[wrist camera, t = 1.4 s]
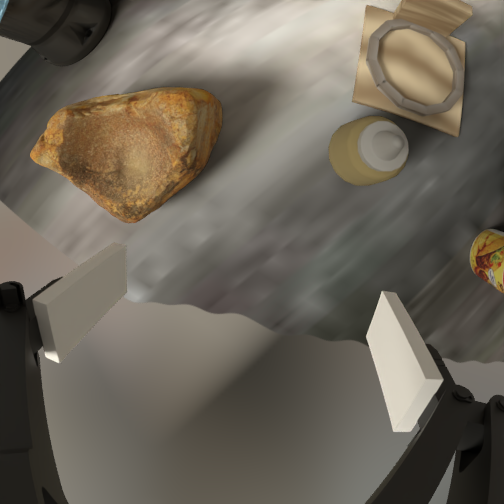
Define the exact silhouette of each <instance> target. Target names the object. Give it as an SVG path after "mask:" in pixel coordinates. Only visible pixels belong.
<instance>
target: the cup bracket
mask: <svg viewBox="0 0 504 504" xmlns="http://www.w3.org/2000/svg"><path fill="white" fill-rule="evenodd" d="M472 15H473V14H472V6H470V5H468V4H466V3H464V2H462V1H460V0H402V1H401V2H400V4H399V6H398V7H397V9H396V10H395V12H394V13H391V12H388V11H385V10H382V9H379V8H375V7H372V6H369V5H367V6H366V10H365V18H364V26H363V34H362V41H361V48H360V55H359V62H358V69H357V75H356V81H355V87H354V93H353V99H352V102H355V103H358V104H362V105H365V106H369V107H372V108H376V109H379V110H382V111H385V112H389V113H392V114H395V115H398V116H401V117H404V118H407V119H410V120H412V121H415V122H418V123H421V124H424V125H426V126H429V127H432V128H434V129H437V130H439V131H442V132H444V133H447V134H449V135H452V136H454V137H458V136H459V129H460V121H461V112H462V101H463V88H464V71H465V42H463V41H461V40H459V39H457V38H454V37H452V36H450V35H449V34H451V33H452V32H453V31H454V30H455V29H456V28H458V27H459V26H460V25H461V24H462V23H464V22H465V21H466V20H467V19H468V18H470V17H471V16H472Z"/></svg>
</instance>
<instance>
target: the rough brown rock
mask: <svg viewBox="0 0 504 504" xmlns="http://www.w3.org/2000/svg"><path fill="white" fill-rule="evenodd" d="M221 126H222V107H221V103H220V102H219V100H217V99H216V98H215V97H214V96H213V95H212V94H211V93H209V92H208V91H206V90H203V89H196V88H182V87H162V88H153V89H148V90H144V91H140V92H133V93H127V94H122V95H119V94H115V95H107V96H101V97H95V98H92V99H88V100H85V101H81V102H78V103H75V104H71V105H68V106H66V107H64V108H62V109H60V110H59V111H57V112H56V113H55V114H54V115H53V116H52V118H51V119H50V120H49V122H48V125H47V129H46V130H45V132H44V133H43V134H42V135H41V136H40V138H39V140H38V141H37V143H36V145H35V146H34V148H33V149H32V151H31V153H30V157H31V158H32V159H33V160H34V161H35V162H36V163H38V164H40V165H41V166H45V167H48V168H49V169H51V170H53V171H55V172H57V173H59V174H61V175H62V176H64V177H66V178H67V179H69V180H70V181H71V182H72V183H73V184H74V185H75V186H76V187H78V188H79V189H81V190H82V191H84V192H85V193H87V194H88V195H89V196H90V197H91V198H92V199H93V200H94V201H95V202H96V203H97V204H98V205H99V206H101V207H103V208H104V209H106V210H107V211H108V212H109V213H110V214H111V215H112V216H114V217H116V218H118V219H119V220H121V221H123V222H125V223H132V222H133V223H135V222H138V221H140V220H141V219H143V218H145V217H146V216H147V215H148V214H150V213H151V212H153V211H155V210H157V209H158V208H160V207H161V206H162V205H163V204H164V203H165V202H166V201H167V200H168V199H169V198H170V197H172V196H173V195H175V194H176V193H177V192H178V191H179V190H181V189H182V188H184V187H185V186H186V185H187V184H188V183H189V182H191V181H192V180H193V179H194V178H195V177H196V176H197V175H198V174H199V173H200V172H201V171H202V170H203V168H204V167H205V165H206V164H207V162H208V160H209V157H210V153H211V151H212V149H213V147H214V145H215V144H216V141H217V139H218V136H219V133H220V130H221Z"/></svg>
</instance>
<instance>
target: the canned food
mask: <svg viewBox="0 0 504 504" xmlns="http://www.w3.org/2000/svg"><path fill="white" fill-rule="evenodd" d="M470 264H471V268H472V270H473V272H474V273H475V274H476V275H477V276H479V277H480V278H482V279H483V280H485V281H486V282H488V283H489V284H491V285H492V286H494V287H495V288H496V289H498V290H499V291H501V292H502V293H504V232H501V231H498V230H496V229H486V230H484V231H482V232H481V233H480V234H479V235H478V236H477V237H476V239H475V240H474V242H473V244H472V247H471V251H470Z"/></svg>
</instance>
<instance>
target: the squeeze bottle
mask: <svg viewBox="0 0 504 504" xmlns="http://www.w3.org/2000/svg"><path fill="white" fill-rule="evenodd" d="M408 152H409V149H408V141H407V138H406V136H405V134H404V132H403V131H402V130H401V129H400V128H399V127H398V126H397V125H396V124H395V123H394V122H393V121H391V120H388V119H386V118H384V117H382V116H367V117H364V118H361V119H357V120H354V121H351V122H349V123H347V124H344V125H342V126H340V128H339V129H338V130H337V131H336V132H335V133H334V134H333V135H332V138H331V141H330V144H329V160H330V162H331V164H332V166H333V168H334V170H335V172H336V173H337V174H338V175H339V176H340V177H341V178H342V179H343V180H344V181H346V182H349V183H351V184H354V185H356V186H365V185H372V184H376V183H379V182H383V181H386V180H388V179H391V178H393V177H395V176H397V175H398V174H399V173H400V171H401V170H402V169H403V168H404V167H405V164H406V161H407V158H408Z"/></svg>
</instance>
